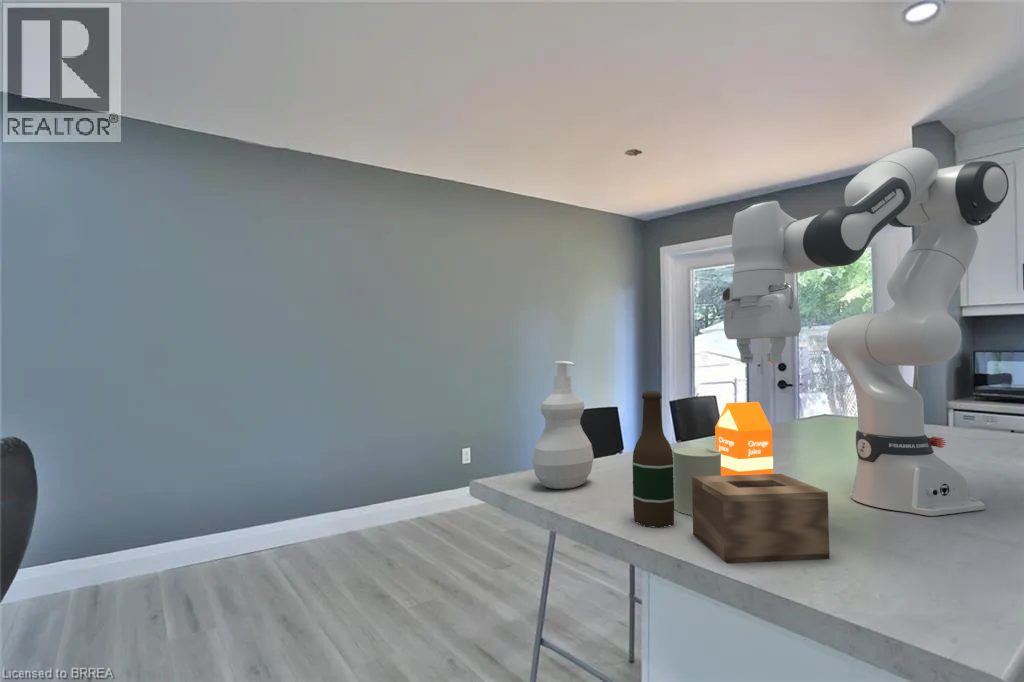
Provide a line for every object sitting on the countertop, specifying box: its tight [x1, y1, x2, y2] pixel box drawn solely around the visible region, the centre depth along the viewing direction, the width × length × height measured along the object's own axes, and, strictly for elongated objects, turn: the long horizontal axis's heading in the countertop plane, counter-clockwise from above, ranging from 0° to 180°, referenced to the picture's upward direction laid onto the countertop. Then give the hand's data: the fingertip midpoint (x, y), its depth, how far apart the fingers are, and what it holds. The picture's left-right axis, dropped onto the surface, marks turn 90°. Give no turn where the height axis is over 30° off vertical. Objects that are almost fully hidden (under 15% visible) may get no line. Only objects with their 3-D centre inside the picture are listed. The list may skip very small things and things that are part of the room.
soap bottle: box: [532, 360, 595, 490], centre depth 125 cm, size 17×12×29 cm
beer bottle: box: [632, 390, 675, 528], centre depth 98 cm, size 8×8×24 cm
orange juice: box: [714, 401, 774, 476], centre depth 116 cm, size 8×9×20 cm
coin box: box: [692, 473, 830, 564], centre depth 85 cm, size 16×12×10 cm
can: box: [672, 446, 721, 516], centre depth 105 cm, size 9×9×12 cm
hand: (760, 363), depth 98 cm, fingers open, 8 cm apart
